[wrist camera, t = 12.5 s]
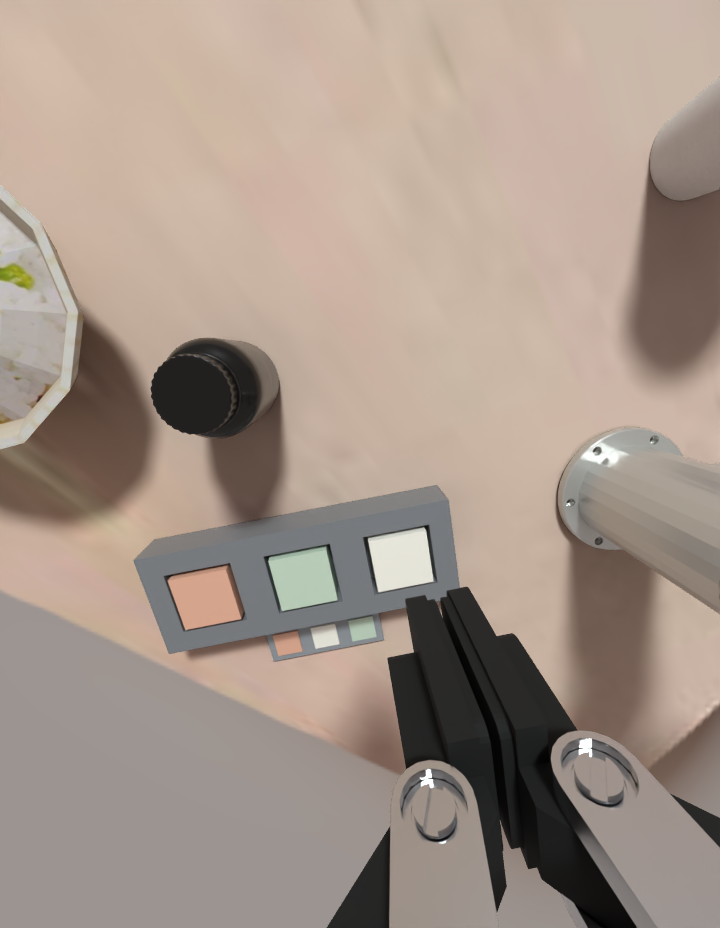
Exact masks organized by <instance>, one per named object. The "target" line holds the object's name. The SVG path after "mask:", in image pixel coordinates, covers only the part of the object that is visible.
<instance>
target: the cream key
mask: <svg viewBox="0 0 720 928" xmlns="http://www.w3.org/2000/svg"><path fill="white" fill-rule="evenodd" d="M367 537H368V542H369V547H370V553H371V558H372V563H373V568H374V573H375V578H376V583H377V589H378V592H383V591H388V590H393V589H398V588H403V587H408V586H414V585H419V584H424V583H429V582H434V581H433V574H432V567H431V561H430V554H429V547H428V540H427V534H426V530H425V528H424V526H419V527H413V528H408V529H403V530H398V531H393V532H388V533H382V534H377V535H372V536H367Z"/></svg>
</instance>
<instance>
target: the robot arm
mask: <svg viewBox="0 0 720 928" xmlns="http://www.w3.org/2000/svg"><path fill="white" fill-rule="evenodd" d="M558 507H559V512H560V516H561V518H562V520H563V522H564V524H565V526H566V527H567V528H568V529H569V531H570V532H571V533H572V534H573V535H575V536H576V537H577V538H578V539H580V540H581V541H583V542H584V543H586V544H587V545H590V546H592V547H594V548H598V549H604V550H621V549H623V550H624V551H626V552H627V553H629V554H630V555H632V556H633V557H635V558H636V559H638V560H639V561H641V562H642V563H644V564H645V565H647V566H648V567H650V568H651V569H653V570H654V571H656V572H657V573H659V574H660V575H662V576H663V577H665V578H666V579H668V580H669V581H671V582H672V583H674V584H675V585H677V586H678V587H680V588H681V589H683V590H684V591H686V592H687V593H689V594H690V595H692V596H693V597H695V598H696V599H698V600H699V601H701V602H702V603H704V604H705V605H707V606H708V607H710V608H711V609H713V610H714V611H716V612H717V613H719V614H720V463H715V464H707V463H704V462H700V461H697V460H693V459H690V458H686V457H683V455H682V453H681V451H680V450H679V448H678V447H677V446H676V445H675V444H674V443H673V442H672V441H671V440H670V439H669V438H668V437H666V436H664V435H663V434H661V433H658V432H655V431H652V430H649V429H644V428H638V427H624V428H619V429H614V430H611V431H608V432H606V433H603V434H601V435H599V436H597V437H596V438H594V439H592V440H591V441H589V442H588V443H587V444H586V445H584V446H583V447H582V448H581V449H580V450H579V451H578V452H577V453H576V454H575V455H574V457H573V458H572V459H571V461H570V462H569V464H568V465H567V467H566V469H565V471H564V473H563V476H562V478H561V481H560V485H559V490H558ZM446 594H447V597H441V598H440V603H441V610H442V616H443V618H442V616H441V613H440V611H439V608H438V606H437V603H436V601H435V599H431V600H427V598H426V595H421V596H416V597H411V598H406V599H405V603H406V609H407V615H408V620H409V626H410V632H411V638H412V643H413V649H414V653H410V654H404V655H399V656H394V657H389V658H388V664H389V670H390V676H391V682H392V688H393V694H394V700H395V705H396V711H397V717H398V723H399V729H400V735H401V741H402V746H403V752H404V758H405V764H406V770H405V772H404V773H403V774H402V775H401V776H400V777H399V778H398V780H397V783H396V785H395V787H394V789H393V793H392V799H391V821H390V824H391V826H390V827H389V829H388V831H387V832H386V834H385V835H384V837H383V839H382V840H381V842H380V844H379V845H378V847H377V848H376V850H375V852H374V853H373V855H372V856H371V858H370V859H369V861H368V863H367V864H366V866H365V867H364V869H363V871H362V872H361V874H360V875H359V877H358V879H357V880H356V882H355V883H354V885H353V887H352V888H351V890H350V891H349V893H348V895H347V896H346V898H345V900H344V901H343V903H342V904H341V906H340V907H339V909H338V911H337V912H336V914H335V915H334V917H333V919H332V920H331V922H330V923H329V925H328V927H327V928H499V923H498V918H497V911H498V908H499V905H500V903H501V900H502V897H503V895H504V892H505V889H506V887H507V886H506V878H505V870H504V861H503V853H502V851H503V842H502V835H501V825H500V821H501V824H502V827H503V829H504V832H505V835H506V838H507V840H508V843H509V845H510V847H511V849H514V848H519V847H520V848H521V851H522V853H523V856H524V858H525V861H526V864H527V867H528V869H531V868H536V867H537V868H538V870H539V873H540V876H541V878H542V880H543V881H545V882H546V883H547V884H549V885H550V886H552V887H553V888H554V889H556V890H557V891H558V892H560V893H561V896H562V898H563V901H564V903H565V905H566V908H567V910H568V912H569V914H570V916H571V918H572V919H573V921H574V923H575V925H576V927H577V928H720V818H719V817H717V816H714V815H712V814H710V813H708V812H706V811H704V810H702V809H700V808H698V807H696V806H694V805H692V804H690V803H688V802H686V801H684V800H682V799H680V798H678V797H676V796H674V795H672V794H670V793H669V792H668V791H667V790H666V789H665V788H664V787H663V786H662V785H661V784H660V783H659V782H658V781H657V779H655V777H654V776H653V775H652V774H651V773H650V772H649V771H648V770H647V769H646V768H645V767H644V765H643V764H642V763H641V762H640V761H639V760H638V759H637V758H636V757H635V756H634V755H633V754H632V753H631V752H630V751H629V750H627V749H626V748H625V747H624V746H623V745H622V744H620V743H618V742H616V741H615V740H613V739H611V738H610V737H608V736H605V735H602V734H599V733H596V732H593V731H582V730H577V729H576V727H575V726H574V724H573V723H572V721H571V720H570V718H569V717H568V715H567V713H566V712H565V710H564V709H563V707H562V706H561V704H560V703H559V701H558V700H557V698H556V696H555V695H554V693H553V692H552V690H551V689H550V687H549V686H548V684H547V683H546V681H545V680H544V678H543V676H542V675H541V673H540V672H539V670H538V669H537V667H536V666H535V664H534V663H533V661H532V659H531V658H530V656H529V655H528V653H527V652H526V650H525V649H524V647H523V646H522V644H521V643H520V641H519V639H518V638H517V637H516V636H515V635H514V634H513V633H511V634H506V635H501V636H496V634H495V633H494V631H493V629H492V627H491V626H490V624H489V622H488V620H487V619H486V617H485V615H484V614H483V612H482V610H481V608H480V607H479V605H478V603H477V601H476V600H475V598H474V596H473V594H472V593H471V591H470V589H469V588H468V587H462V588H457V589H452V590H447V593H446Z"/></svg>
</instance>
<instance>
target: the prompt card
mask: <svg viewBox="0 0 720 928" xmlns="http://www.w3.org/2000/svg"><path fill="white" fill-rule="evenodd" d="M266 636H267V640H268V643H269V647H270V650H271V653H272V657H273V660H274V661H278V660H283V659H289V658H294V657H299V656H304V655H309V654H314V653H319V652H324V651H329V650H334V649H339V648H345V647H350V646H355V645H360V644H365V643H370V642H375V641H380V640H384V637H383V632H382V627H381V622H380V617H379V613H376V614H371V615H366V616H361V617H356V618H351V619H346V620H341V621H335V622H330V623H325V624H320V625H315V626H310V627H305V628H300V629H295V630H289V631H284V632H279V633H274V634H269V635H266Z"/></svg>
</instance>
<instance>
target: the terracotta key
mask: <svg viewBox="0 0 720 928" xmlns="http://www.w3.org/2000/svg"><path fill="white" fill-rule="evenodd" d="M168 583H169V586H170V589H171V591H172V594H173V597H174V600H175V603H176V605H177V608H178V611H179V614H180V616H181V619H182V622H183V625H184V628H185V630H188V629H193V628H198V627H204V626H209V625H214V624H219V623H224V622H229V621H234V620H239V619H242V616H243V613H244V607H243V604H242V600H241V597H240V594H239V591H238V587H237V584H236V581H235V578H234V574H233V571H232V568H231V565H230V563H228V564H222V565H217V566H212V567H207V568H202V569H197V570H192V571H186V572H181V573H176V574H173V575H172V576H171V577H170V579H169V580H168Z"/></svg>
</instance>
